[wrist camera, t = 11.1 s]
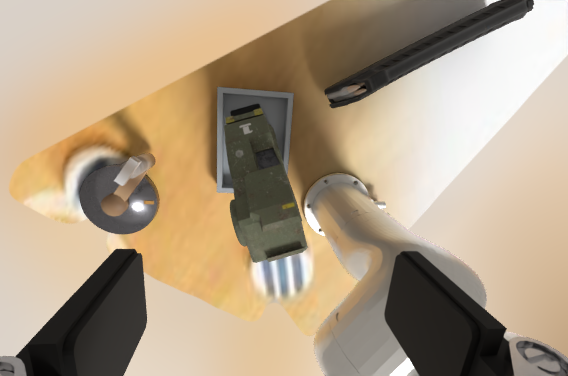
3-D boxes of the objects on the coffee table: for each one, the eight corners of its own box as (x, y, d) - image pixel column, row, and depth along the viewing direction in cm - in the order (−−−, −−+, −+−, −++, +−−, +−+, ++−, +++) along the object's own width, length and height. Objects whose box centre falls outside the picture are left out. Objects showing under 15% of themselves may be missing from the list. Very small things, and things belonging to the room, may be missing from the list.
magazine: (555, -25, 38) (394, 64, 30) (558, 0, 39) (403, 93, 31) (441, 25, 53) (317, 92, 46) (446, 42, 54) (325, 110, 47)
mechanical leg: (215, 89, 44) (198, 181, 18) (260, 77, 44) (306, 151, 18) (241, 166, 51) (256, 309, 25) (279, 155, 51) (332, 286, 26)
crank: (122, 216, 47) (96, 239, 39) (101, 204, 46) (71, 225, 38) (164, 157, 45) (146, 168, 37) (144, 143, 44) (121, 151, 36)
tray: (290, 93, 46) (293, 93, 43) (283, 189, 51) (285, 194, 48) (219, 88, 45) (217, 86, 42) (218, 187, 50) (216, 192, 46)
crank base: (157, 166, 47) (154, 168, 46) (161, 231, 51) (158, 234, 49) (80, 162, 46) (74, 164, 44) (89, 229, 49) (84, 233, 47)
